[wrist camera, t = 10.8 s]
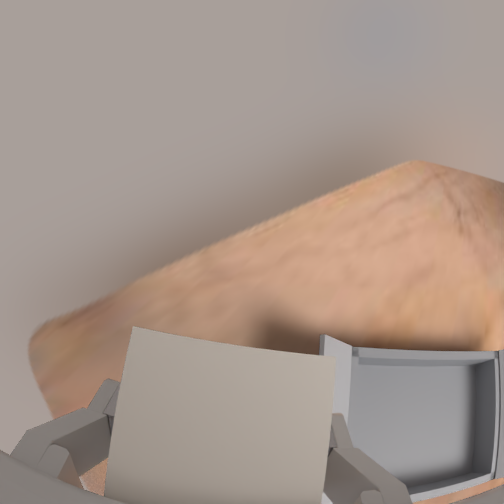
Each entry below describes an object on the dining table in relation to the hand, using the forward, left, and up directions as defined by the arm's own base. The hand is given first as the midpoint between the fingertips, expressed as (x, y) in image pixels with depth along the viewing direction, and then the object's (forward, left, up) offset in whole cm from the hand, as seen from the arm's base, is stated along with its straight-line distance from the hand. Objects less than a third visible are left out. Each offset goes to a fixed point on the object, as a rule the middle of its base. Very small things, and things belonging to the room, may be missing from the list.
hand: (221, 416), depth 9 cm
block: (0, +1, -5) cm, 5 cm away
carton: (-18, +1, -16) cm, 24 cm away
